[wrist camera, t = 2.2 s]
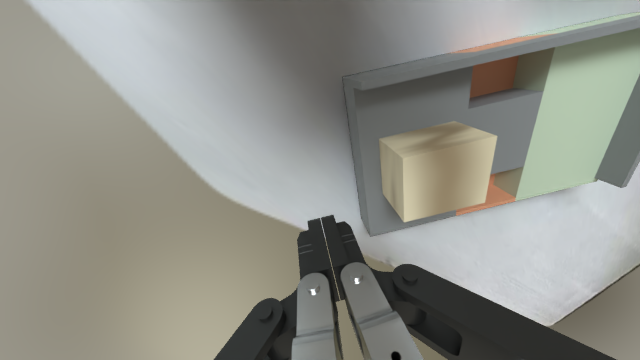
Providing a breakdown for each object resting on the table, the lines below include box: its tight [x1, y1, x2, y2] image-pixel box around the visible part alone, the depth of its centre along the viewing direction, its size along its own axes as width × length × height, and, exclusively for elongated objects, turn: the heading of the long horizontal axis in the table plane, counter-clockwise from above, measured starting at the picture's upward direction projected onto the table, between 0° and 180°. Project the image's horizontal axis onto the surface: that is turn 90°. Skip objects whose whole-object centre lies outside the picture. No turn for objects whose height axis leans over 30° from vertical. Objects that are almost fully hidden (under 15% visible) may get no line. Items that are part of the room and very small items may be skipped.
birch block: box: [379, 121, 497, 222], centre depth 17 cm, size 6×5×4 cm
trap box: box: [342, 12, 640, 237], centre depth 19 cm, size 23×14×5 cm, turn 101°
